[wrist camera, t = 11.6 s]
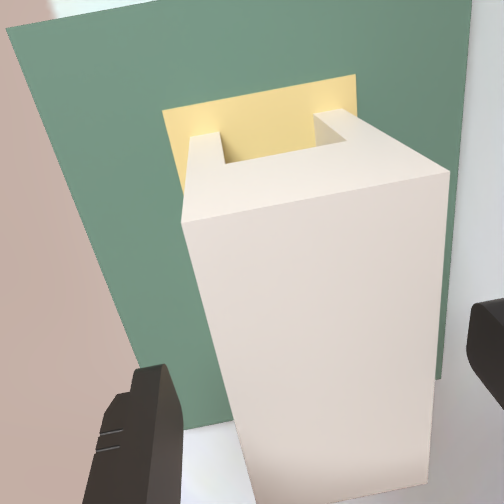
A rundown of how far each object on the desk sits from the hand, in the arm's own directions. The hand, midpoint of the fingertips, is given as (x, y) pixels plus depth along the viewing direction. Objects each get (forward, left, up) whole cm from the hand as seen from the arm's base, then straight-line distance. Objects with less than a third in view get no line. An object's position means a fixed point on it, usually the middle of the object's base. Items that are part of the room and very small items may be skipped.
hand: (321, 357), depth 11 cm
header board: (0, 0, -8) cm, 8 cm away
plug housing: (0, 0, -6) cm, 6 cm away
